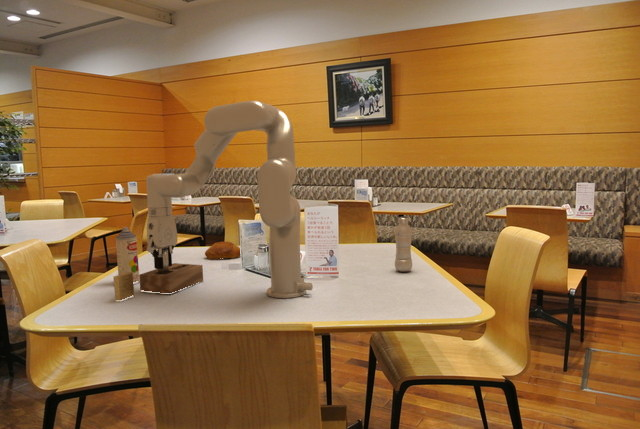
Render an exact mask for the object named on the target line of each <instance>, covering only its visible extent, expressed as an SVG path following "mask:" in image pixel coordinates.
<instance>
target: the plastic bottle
mask: <svg viewBox="0 0 640 429" xmlns="http://www.w3.org/2000/svg"><path fill="white" fill-rule="evenodd" d="M397 219H398V220H397V223H398V225H397V226H396V227H395V230H394V240H395V246H396V249H395V251H396V252H395V259H394V268H395V270H396V271H397V272H400V273H401V272H402V273H404V272H405V273H407V272H411V270H412V268H413V259H412V254H411V253H412V251H411V249H412V237H413V235H412V234H413V230H412V228H411V226H410V225H409V224H408V223H409V217H407V216H398V218H397Z"/></svg>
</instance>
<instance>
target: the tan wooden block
mask: <svg viewBox="0 0 640 429" xmlns="http://www.w3.org/2000/svg"><path fill="white" fill-rule="evenodd" d="M134 285H135V284H133V273H131V272H127V273H124V274H120V275H118V274H117V275H115V276H113V288H114V300H115V299H116V300H122V299H125V298H127V297H130V296H132V295H134V296H135V289H134V288H135V287H134Z"/></svg>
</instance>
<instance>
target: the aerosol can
mask: <svg viewBox="0 0 640 429" xmlns="http://www.w3.org/2000/svg"><path fill="white" fill-rule="evenodd" d="M137 239H138V238H137V235H136V234H134V233H133V232H132V231H131V230H130V229H129V226H123V227H122V230H121V231H120V232H119V233H118V235H117V236H115V246H116V248H115V249H116V262H117V275H120V274H124V273H127V272H131V273H133V282H136V281H140V278H139V275H140V270H139V269H140V268H139V255H138V241H137Z"/></svg>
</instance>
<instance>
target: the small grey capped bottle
mask: <svg viewBox="0 0 640 429" xmlns="http://www.w3.org/2000/svg"><path fill="white" fill-rule="evenodd" d="M156 251H157V252H158V249H156ZM161 257H163V267H164V268H163V269H158V274H168V273H169V259H168V249H166V247H165V248H162V255H161Z"/></svg>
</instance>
